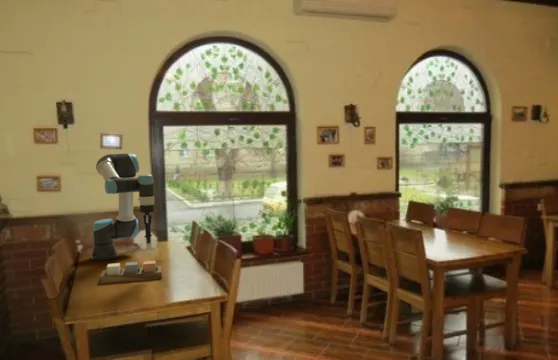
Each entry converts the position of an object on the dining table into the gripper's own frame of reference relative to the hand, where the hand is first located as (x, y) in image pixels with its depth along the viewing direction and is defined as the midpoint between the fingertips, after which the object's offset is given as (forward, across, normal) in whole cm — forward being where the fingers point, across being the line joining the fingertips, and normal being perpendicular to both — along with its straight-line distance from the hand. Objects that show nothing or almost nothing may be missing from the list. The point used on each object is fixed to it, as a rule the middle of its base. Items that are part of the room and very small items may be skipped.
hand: (149, 248), depth 253 cm
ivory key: (+12, 0, -18) cm, 22 cm away
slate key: (+12, 0, -9) cm, 15 cm away
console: (+15, 0, -9) cm, 17 cm away
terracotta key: (+12, 0, 0) cm, 12 cm away
